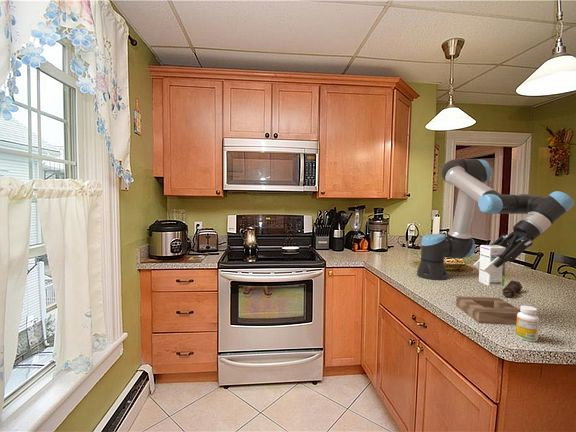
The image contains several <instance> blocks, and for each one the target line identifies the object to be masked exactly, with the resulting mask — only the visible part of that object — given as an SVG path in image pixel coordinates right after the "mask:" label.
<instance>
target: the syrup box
mask: <svg viewBox="0 0 576 432" xmlns="http://www.w3.org/2000/svg"><path fill="white" fill-rule="evenodd" d="M479 247H480V248H479V249H480V250H479V259H480V266H479V270H478V283H481V284H483V285H485V286H488V287H505V274H506V272H505V271H506V270H505V269H506V262H504V263H503V264H502V265H501V266H500V267H498V268H497V269H496V270H495V271H494V272H492V273H491V274H490V275H489V274H488V273H487V272H486V271H485V270H484V268H485V267H486V266H487V265H488V264H490V263H491V262H492V261H493V260H494V259H495V258H496V257H499V256H498V255H502V253H503V252H504V251H505V250H506V248H505V247H503V246H498V245H491V244H481V245H480V246H479ZM499 258H500V257H499Z"/></svg>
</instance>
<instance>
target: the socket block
mask: <svg viewBox="0 0 576 432" xmlns="http://www.w3.org/2000/svg"><path fill="white" fill-rule="evenodd" d="M455 303H456V304H455V306H456V307H457V308H459V310H461V311H462V312H463V313H465V314H466V315H468V316H469V317H470V318H471V319H473V320H474V321H475V322H477V323H478V324H479V323H480V324H497V325H498V324H499V325H500V324H501V325H516V324H517V314H518V313H519V312H521V311H520V308H518V307H516V306H514V305H512V303H511V304H510V303H509V302H507V301H505V300H503V299H501V298H500V297H490V296H489V297H488V296H468V295H467V296H463V295H462V296H461V295H456V302H455Z"/></svg>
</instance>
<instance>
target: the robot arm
mask: <svg viewBox="0 0 576 432" xmlns="http://www.w3.org/2000/svg"><path fill="white" fill-rule="evenodd" d="M491 167H492V166H491V165H490V163H489V162H488V161H487V160H485V159H481V158H480V159H478V158H454V159H451V160H449V161H447V162H445V164H443V165H442V167H441V170H440V176H441V179H443V181H444V182H445V183H447V184H449V185H451V186H455V187H456V188H457V189H458V193H457V197H456V203H455V209H454V214H453V220H452V226H451V230H449V231H448V232H447V234H446V235H447V236H446V235H445V234H443V233H437V234H436V233H430V234H425V235H423V236H422V238H421V243H420V245H421V246H420V262H419V265H418V268H417V269H416V276H417V277H418V278H419V277H420V278H422V279H427V280H435V281H437V280H438V281H441V280H443V281H444V280H447V278H448V273H447V269H446V267H445V259H464V258H465V259H466V258H469V257H471V256H472V255H473V254H474V252H475V250H476V244H475V243H476V242H475V240H474V239H473V236H472V235H471V233H470V231H471V227H472V222H473V218H474V214H475V213H474V212H475V208H476V203H478V204H477V205H478V208H479V211H480V212H481V213H484V214H490V215H496V214H511V215H512V214H515V215H525V216H524V217H523V218H521V219H520V220H519V221H518V222H516V223H515V224H514V225H513V226H512V229H513V230H512V232H510V233H509V234H505V233H502V234H501V235H500V237H498V238H497V239H496V240H494V242H492V243H491V244H490V245H498V246H503V247H505V248H506V250H505V251H504V252H503V253H502V255H498V256H499V257H500V258H499V257H496V258H495V259H494V260H493V261H492V262H491V263H490V264H488V265H487V266H486V267H485V268H484V270H485V271H486V272H487V273H488V274H489V275H490V274H491V273H492V272H494V271H495V270H496V269H497V268H498V267H500V266H501V265H502V264H503V263H504V262H505V263H508V262H509V263H512V262H514V261H515V260H516V259H517V258H518V257H519V256H520V255H521V254H522V253H523V252H525V250H527V249H528V248H529V247H531V246H533V241H535V240H536V239H537V238H538V237H539V236H540V235H541V234H543V233H544V232H545V231H546V230H547V229H549V227H551V226H552V225H553V224H554V223H555V222H557V221H558V220H560V218H562V216H564V215H565V214H566V213H568V211H569V210H571V208H572V207H573V206H574V205H575V201H574V199H573V198H572V196H571V195H569V194H568V193H566V192H562V191H559V190H557V191H556V190H555V191H553V192H551V193H550V194H548V195H547V196H544V195H542V196H540V195H534V194H528V193H517V194H502V193H500V192H498V191H496V190H495V189H493V188H492V187H490V186H488V185H487V184H486V183H487V182H488V181H489V180H490V178H491V176H492V168H491ZM473 266H474V267H475V269H476V270H478V271H479V266H480V258H479V259H477V261H475V263H473Z"/></svg>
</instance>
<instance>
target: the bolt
mask: <svg viewBox="0 0 576 432" xmlns="http://www.w3.org/2000/svg"><path fill="white" fill-rule="evenodd" d="M522 289H523V286H522V284H521V282H519V280H510V282H508V284H506V285H505V286H504V288H503V289H502V290H501V291H502V295H503V296H504V297H506V298H510V296H511V298H513V297H514V296H515V294H517V293H519V292H520V291H521V290H522Z"/></svg>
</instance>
